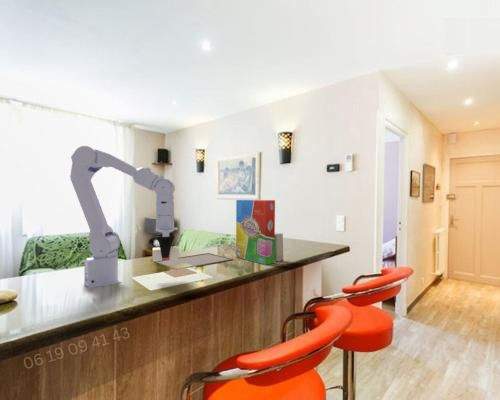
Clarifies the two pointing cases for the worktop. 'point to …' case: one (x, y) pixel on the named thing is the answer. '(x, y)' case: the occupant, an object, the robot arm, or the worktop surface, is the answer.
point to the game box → (255, 230)
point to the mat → (170, 278)
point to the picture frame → (195, 260)
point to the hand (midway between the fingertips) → (165, 255)
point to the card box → (158, 257)
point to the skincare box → (278, 246)
